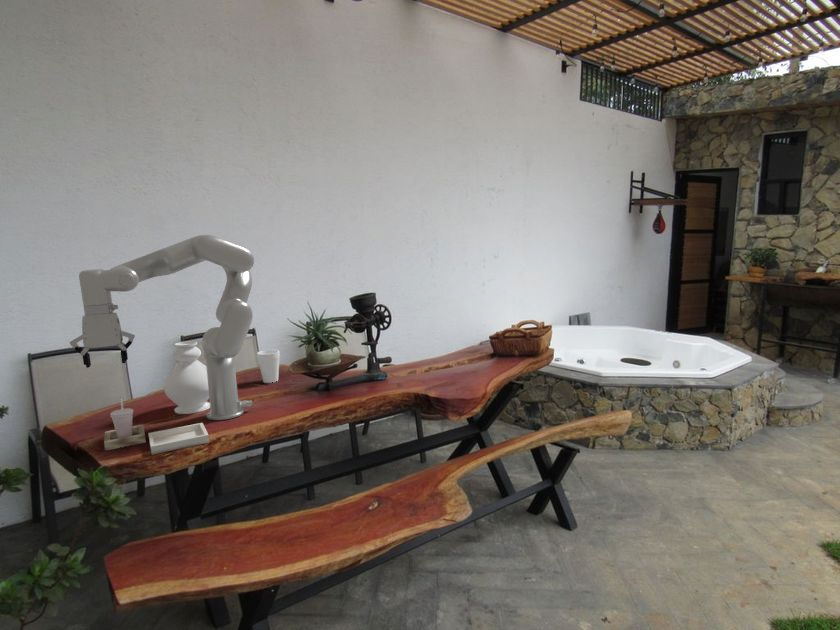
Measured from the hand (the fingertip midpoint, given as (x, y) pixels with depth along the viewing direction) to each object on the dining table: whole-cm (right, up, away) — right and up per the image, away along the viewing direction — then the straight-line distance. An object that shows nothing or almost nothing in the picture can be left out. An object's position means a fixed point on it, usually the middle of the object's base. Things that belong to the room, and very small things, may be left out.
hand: (106, 364), depth 162 cm
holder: (+4, -25, +4) cm, 25 cm away
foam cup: (+32, -14, +68) cm, 76 cm away
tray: (+22, -24, +2) cm, 33 cm away
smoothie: (+4, -25, +4) cm, 25 cm away
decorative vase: (+12, -20, +34) cm, 41 cm away
